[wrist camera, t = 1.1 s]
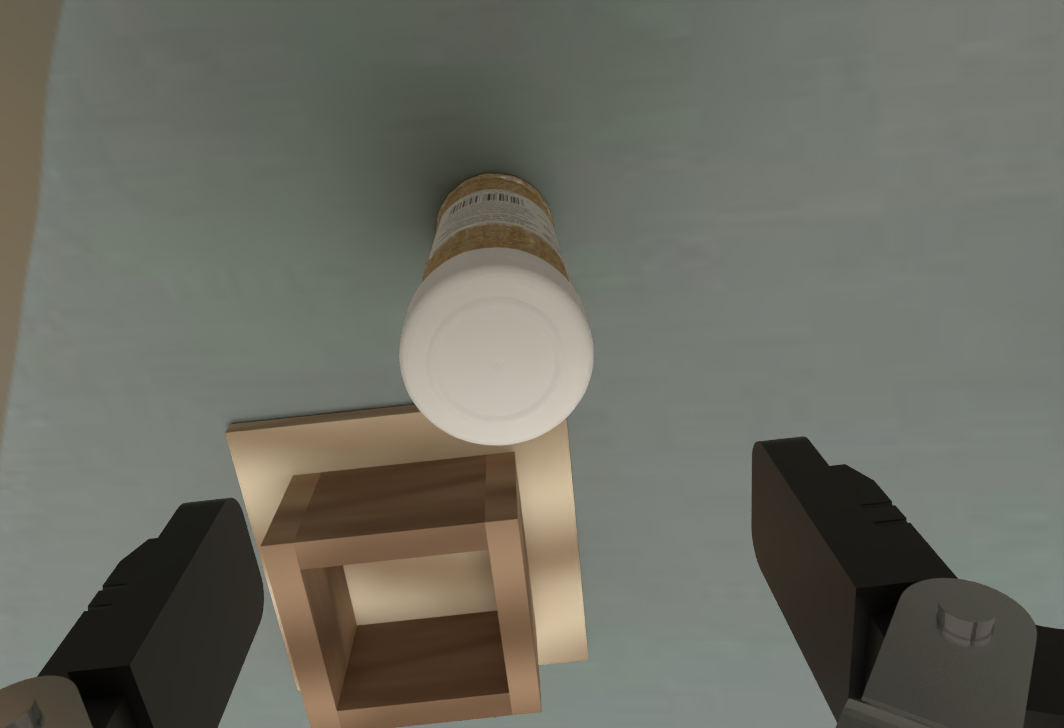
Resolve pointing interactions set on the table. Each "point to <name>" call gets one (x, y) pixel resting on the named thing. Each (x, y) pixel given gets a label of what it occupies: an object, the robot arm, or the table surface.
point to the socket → (413, 564)
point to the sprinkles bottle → (495, 319)
